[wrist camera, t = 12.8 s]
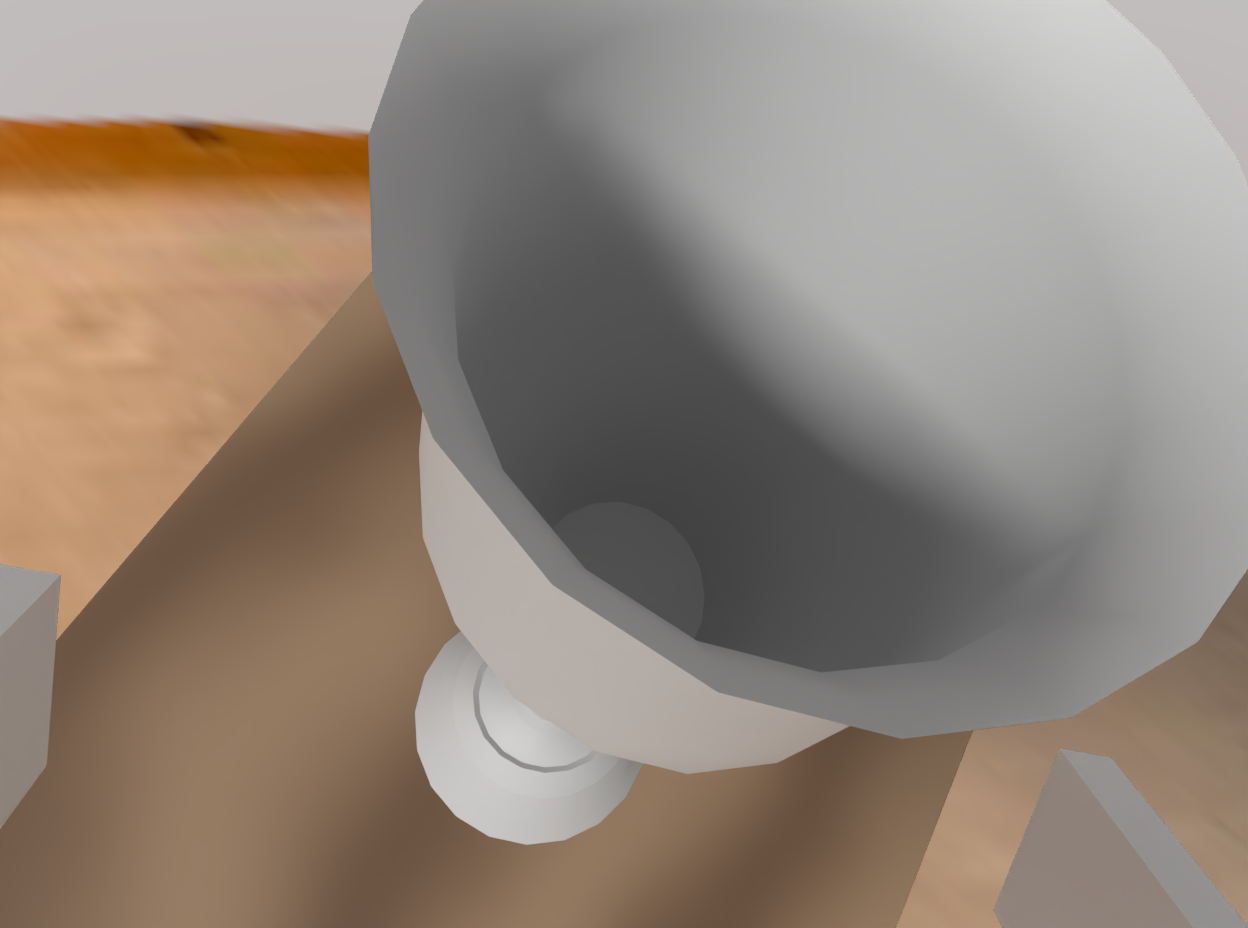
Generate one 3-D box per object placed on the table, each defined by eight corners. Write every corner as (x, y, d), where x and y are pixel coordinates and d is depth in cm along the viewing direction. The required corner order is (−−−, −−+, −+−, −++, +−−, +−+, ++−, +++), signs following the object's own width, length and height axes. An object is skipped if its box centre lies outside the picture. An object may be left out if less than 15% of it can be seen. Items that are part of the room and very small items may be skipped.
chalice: (392, 545, 25) (424, -229, 9) (687, 572, 26) (1194, -68, 10) (350, 896, 22) (281, 697, 6) (687, 909, 23) (1415, 774, 7)
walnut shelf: (943, 600, 34) (1050, 531, 28) (587, 1429, 24) (649, 1562, 19) (440, 299, 35) (452, 176, 29) (-106, 982, 25) (-239, 985, 19)
